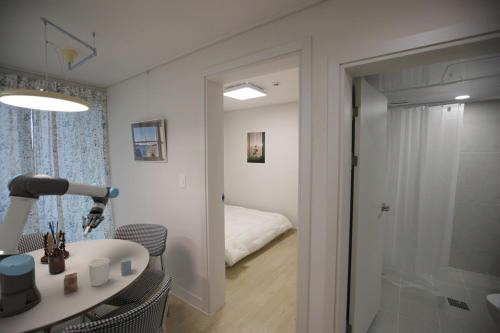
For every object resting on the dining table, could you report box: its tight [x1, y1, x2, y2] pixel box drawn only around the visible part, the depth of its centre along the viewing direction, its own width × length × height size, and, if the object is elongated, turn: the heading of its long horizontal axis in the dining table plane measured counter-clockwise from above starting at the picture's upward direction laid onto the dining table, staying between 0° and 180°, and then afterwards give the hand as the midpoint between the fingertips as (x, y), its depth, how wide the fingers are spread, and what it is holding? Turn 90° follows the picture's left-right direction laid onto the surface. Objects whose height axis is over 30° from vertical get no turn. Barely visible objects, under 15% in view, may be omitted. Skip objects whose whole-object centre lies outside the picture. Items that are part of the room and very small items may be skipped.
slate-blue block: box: [120, 257, 132, 276], centre depth 133 cm, size 5×5×8 cm
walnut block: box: [63, 272, 78, 295], centre depth 116 cm, size 5×5×8 cm
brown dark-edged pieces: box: [40, 229, 70, 265], centre depth 149 cm, size 15×15×20 cm
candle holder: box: [88, 257, 110, 287], centre depth 123 cm, size 10×10×12 cm
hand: (84, 235), depth 132 cm, fingers closed
